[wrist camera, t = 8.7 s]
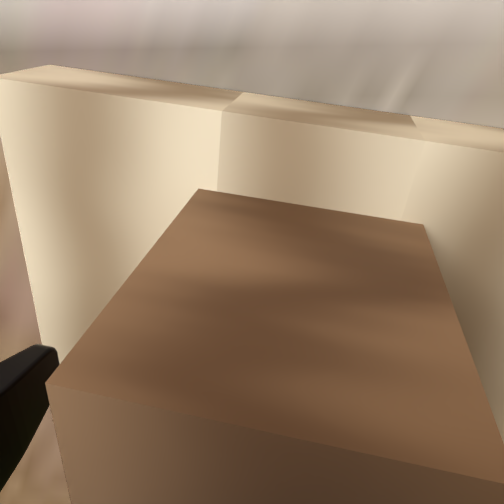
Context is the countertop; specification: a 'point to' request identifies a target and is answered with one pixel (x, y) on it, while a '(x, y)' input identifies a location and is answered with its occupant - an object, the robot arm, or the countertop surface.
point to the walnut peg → (277, 369)
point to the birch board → (237, 185)
